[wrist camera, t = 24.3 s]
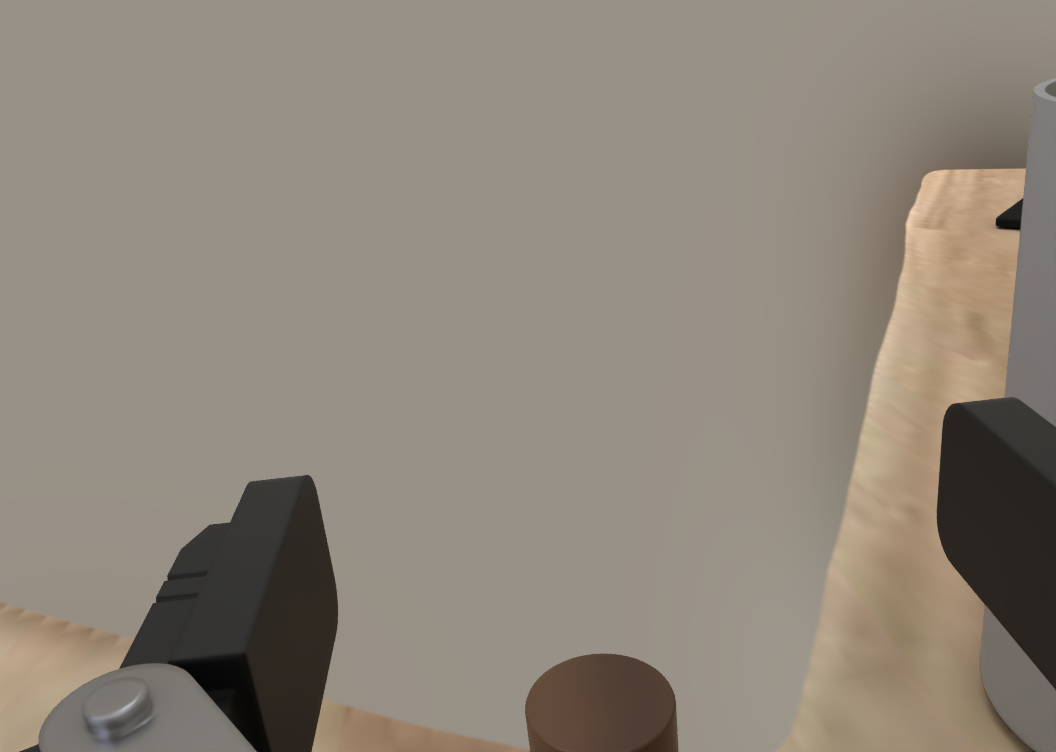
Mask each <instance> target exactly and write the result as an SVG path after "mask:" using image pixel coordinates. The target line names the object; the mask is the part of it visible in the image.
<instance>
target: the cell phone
mask: <svg viewBox="0 0 1056 752" xmlns="http://www.w3.org/2000/svg"><path fill="white" fill-rule="evenodd" d="M1022 207H1023V199H1021V200H1020V201H1019V202H1017V203H1016V204H1015V205H1013V206H1012V207H1011V208H1009V209H1008V210H1006V211H1005V212H1004V213H1002V214H1001V215H1000V216H998V217H997V218H996V226H1000V227H1010V228H1021V218H1022Z"/></svg>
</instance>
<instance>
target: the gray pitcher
mask: <svg viewBox="0 0 1056 752" xmlns="http://www.w3.org/2000/svg"><path fill="white" fill-rule="evenodd" d="M1008 397H1014V398H1017V399H1019V400H1021V401H1022V402H1023V403H1025V404H1026V405H1027V406H1029V407H1030V408H1031V409H1033V410H1034V411H1035V412H1037V413H1038V414H1039V415H1041V416H1042V417H1043V418H1045V419H1046V420H1047V421H1048V422H1050V423H1051V424H1052V425H1054V426H1055V427H1056V78H1054V79H1051V80H1048V81H1045V82H1043V83H1040V84H1039V85H1037V86H1036V87H1035V88H1034V91H1033V102H1032V112H1031V122H1030V133H1029V144H1028V154H1027V165H1026V175H1025V186H1024V197H1023V207H1022V218H1021V228H1020V239H1019V250H1018V260H1017V271H1016V281H1015V292H1014V303H1013V313H1012V324H1011V334H1010V345H1009V356H1008V366H1007V377H1006V387H1005V398H1008ZM980 671H981V677H982V681H983V684H984V687H985V690H986V692H987V695H988V697H989V699H990V701H991V703H992V704H993V706H994V708H995V709H996V711H997V712H998V714H999V715H1000V717H1001V718H1002V719H1003V721H1004V722H1005V723H1006V724H1007V725H1008V726H1009V728H1010V729H1011V730H1012V731H1013V732H1014V733H1015V734H1016V735H1017V736H1018V737H1019V738H1020V739H1021V740H1022V741H1023V742H1024V743H1025V744H1027V745H1028V746H1029V747H1030V748H1031V749H1033V750H1034V751H1035V752H1056V690H1055V689H1054V687H1053V686H1052V685H1051V684H1050V683H1049V681H1048V680H1047V679H1046V678H1045V676H1044V675H1043V674H1042V673H1041V672H1040V670H1039V669H1038V668H1037V667H1036V666H1035V664H1034V663H1033V662H1032V661H1031V660H1030V658H1029V657H1028V656H1027V655H1026V653H1025V652H1024V651H1023V650H1022V649H1021V647H1020V646H1019V645H1018V644H1017V643H1016V641H1015V640H1014V639H1013V638H1012V637H1011V635H1010V634H1009V633H1008V632H1007V631H1006V629H1005V628H1004V627H1003V626H1002V624H1001V623H1000V622H999V621H998V620H997V618H996V617H995V616H994V615H993V614H992V612H991V611H990V610H989V609H988V608H987V606H986V605H985V610H984V621H983V631H982V642H981V653H980Z"/></svg>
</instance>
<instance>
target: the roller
mask: <svg viewBox="0 0 1056 752" xmlns="http://www.w3.org/2000/svg"><path fill="white" fill-rule="evenodd" d="M525 713H526V721H527V729H528V737H529V745H530V752H678V735H677V717H676V701H675V695H674V692H673V690H672V688H671V686H670V684H669V682H668V681H667V680H666V678H665V677H664V676H663V675H662V674H661V673H660V672H659V671H658V670H656V669H655V668H653V667H652V666H650V665H648V664H646V663H644V662H642V661H640V660H637V659H635V658H631V657H628V656H622V655H616V654H591V655H585V656H580V657H576V658H572V659H570V660H567V661H564V662H562V663H560V664H558V665H556V666H554V667H552V668H551V669H549V670H548V671H547V672H545V673H544V674H543V675H542V676H541V677H540V678H539V679H538V680H537V681H536V682H535V683H534V685H533V686H532V688H531V690H530V692H529V695H528V697H527V700H526V706H525Z"/></svg>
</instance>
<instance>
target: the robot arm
mask: <svg viewBox="0 0 1056 752" xmlns="http://www.w3.org/2000/svg"><path fill="white" fill-rule="evenodd" d="M937 526H938V532H939V537H940V541H941V544H942V547H943V550H944V552H945V554H946V556H947V558H948V560H949V561H950V563H951V564H952V565H953V566H954V568H955V569H956V570H957V571H958V572H959V574H960V575H961V576H962V577H963V579H964V580H965V581H966V582H967V583H968V585H969V586H970V587H971V588H972V589H973V591H974V592H975V593H976V594H977V595H978V597H979V598H980V599H981V600H982V601H983V603H984V604H985V605H986V606H987V608H988V609H989V610H990V611H991V612H992V614H993V615H994V616H995V617H996V618H997V620H998V621H999V622H1000V623H1001V624H1002V626H1003V627H1004V628H1005V629H1006V631H1007V632H1008V633H1009V634H1010V635H1011V637H1012V638H1013V639H1014V640H1015V641H1016V643H1017V644H1018V645H1019V646H1020V647H1021V649H1022V650H1023V651H1024V652H1025V653H1026V655H1027V656H1028V657H1029V658H1030V660H1031V661H1032V662H1033V663H1034V664H1035V666H1036V667H1037V668H1038V669H1039V670H1040V672H1041V673H1042V674H1043V675H1044V676H1045V678H1046V679H1047V680H1048V681H1049V683H1050V684H1051V685H1052V686H1053V687H1054V689H1055V690H1056V427H1055V426H1054V425H1052V424H1051V423H1050V422H1048V421H1047V420H1046V419H1045V418H1043V417H1042V416H1041V415H1039V414H1038V413H1037V412H1035V411H1034V410H1033V409H1031V408H1030V407H1029V406H1027V405H1026V404H1025V403H1023V402H1022V401H1021V400H1019V399H1017V398H1014V397H1008V398H999V399H990V400H982V401H973V402H964V403H955V404H952V405H951V406H950V407H949V408H948V409H947V411H946V413H945V416H944V420H943V428H942V443H941V458H940V472H939V487H938V502H937ZM167 577H168V581H164V583H163V585H162V587H161V589H160V591H159V593H158V595H157V597H156V603H153V604H152V606H151V608H150V610H149V612H148V614H147V616H146V618H145V620H144V622H143V624H142V626H141V628H140V630H139V632H138V633H137V635H136V637H135V639H134V641H133V643H132V645H131V647H130V649H129V651H128V653H127V655H126V657H125V659H124V661H123V663H122V664H121V666H120V668H119V669H118V670H115V671H112V672H109V673H106V674H104V675H102V676H99V677H97V678H95V679H93V680H91V681H89V682H88V683H86V684H84V685H82V686H81V687H79V688H78V689H76V690H75V691H73V692H72V693H70V694H69V695H68V696H67V697H65V698H64V699H63V700H62V701H61V702H60V703H59V704H58V705H57V706H56V707H55V708H54V709H53V710H52V711H51V713H50V714H49V715H48V717H47V718H46V719H45V721H44V723H43V725H42V727H41V730H40V733H39V744H38V745H35V746H33V747H31V748H28V749H25V750H23V751H20V752H311V751H312V746H313V742H314V737H315V732H316V727H317V723H318V718H319V713H320V708H321V703H322V699H323V694H324V689H325V684H326V680H327V675H328V670H329V665H330V660H331V656H332V651H333V646H334V642H335V636H336V631H337V624H338V601H337V591H336V583H335V577H334V573H333V568H332V563H331V558H330V553H329V549H328V543H327V538H326V534H325V529H324V524H323V519H322V514H321V510H320V504H319V499H318V495H317V490H316V487H315V484H314V481H313V479H312V478H311V476H309V475H304V476H295V477H287V478H278V479H269V480H260V481H252V482H249V483H248V485H247V486H246V489H245V491H244V493H243V495H242V497H241V500H240V502H239V504H238V507H237V508H236V511H235V513H234V515H233V517H232V520H231V522H230V523H222V524H213V525H209V526H208V527H207V528H205V529H204V530H203V531H202V532H201V533H199V534H198V535H197V536H196V537H195V538H194V539H193V540H191V541H190V542H189V543H188V544H187V545H186V546H185V547H183V548H182V549H181V550H180V552H179V554H178V556H177V558H176V560H175V562H174V564H173V566H172V568H171V570H170V572H169V573H168V576H167Z"/></svg>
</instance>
